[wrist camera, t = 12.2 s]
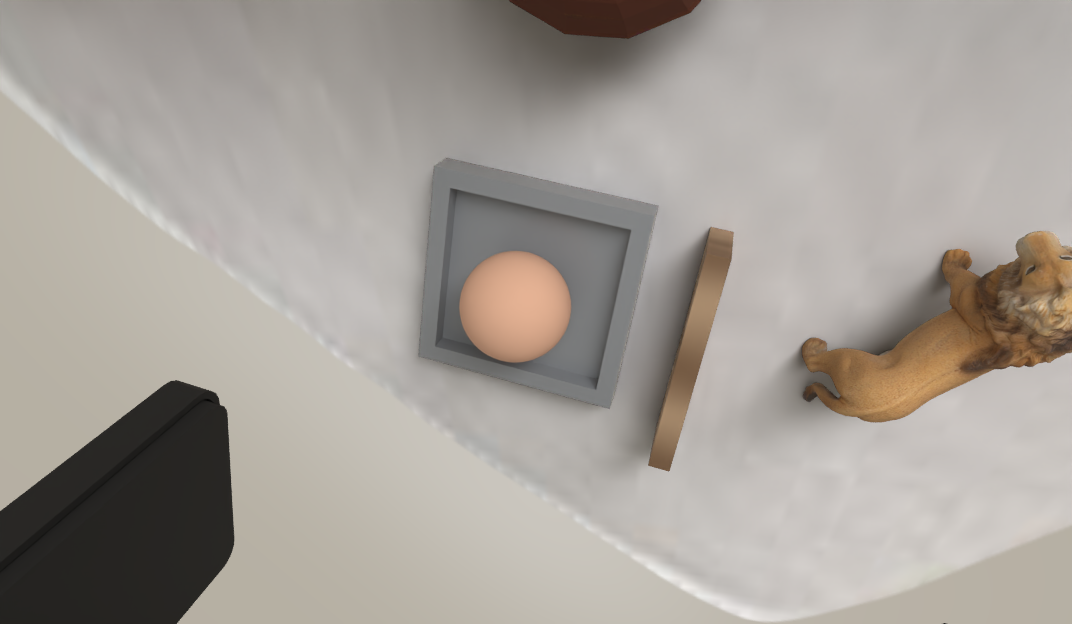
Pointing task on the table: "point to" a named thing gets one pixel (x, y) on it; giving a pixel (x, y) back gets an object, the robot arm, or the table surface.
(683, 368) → the walnut wall
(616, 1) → the muffin
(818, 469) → the table surface
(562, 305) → the ball
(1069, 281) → the lion figurine
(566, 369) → the slate dish
